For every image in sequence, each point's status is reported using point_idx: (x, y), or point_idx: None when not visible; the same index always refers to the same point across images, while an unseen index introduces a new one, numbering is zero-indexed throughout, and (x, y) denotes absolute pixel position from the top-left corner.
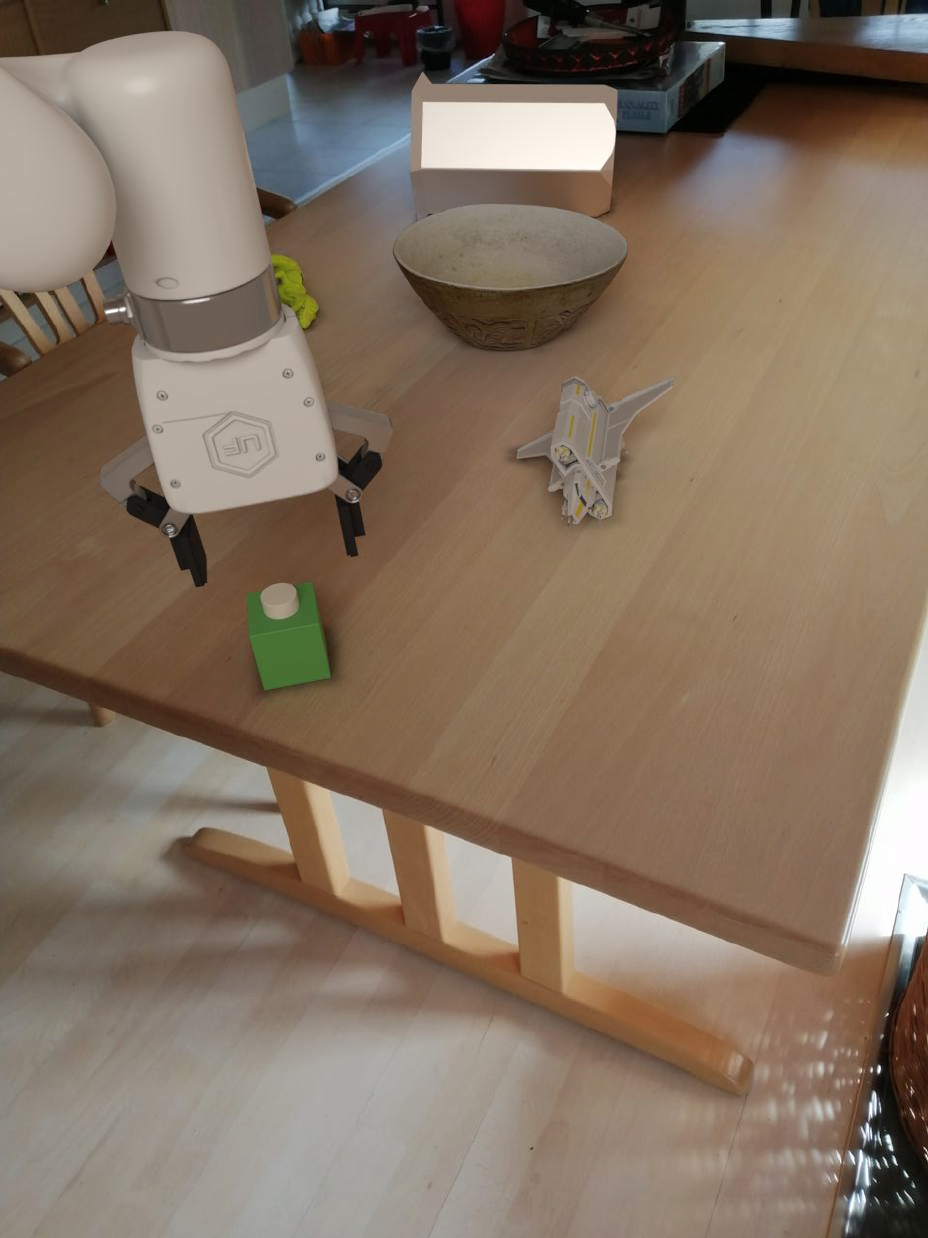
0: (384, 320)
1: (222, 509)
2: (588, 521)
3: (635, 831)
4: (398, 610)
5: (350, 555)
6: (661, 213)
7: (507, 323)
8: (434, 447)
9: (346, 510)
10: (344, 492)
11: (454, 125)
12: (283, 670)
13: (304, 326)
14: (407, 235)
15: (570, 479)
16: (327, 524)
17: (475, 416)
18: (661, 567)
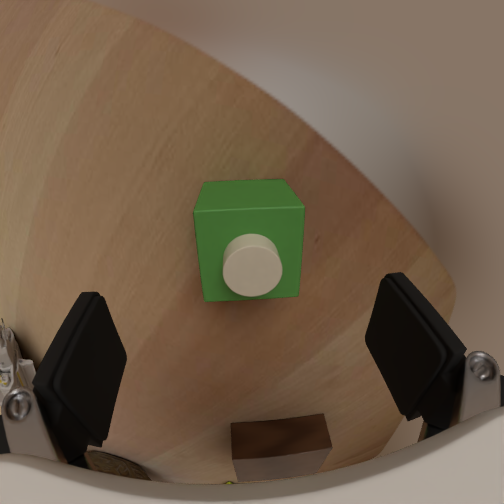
0: (185, 479)
1: (434, 450)
2: (15, 329)
3: (3, 6)
4: (132, 273)
5: (93, 292)
6: None
7: (100, 470)
8: (135, 420)
9: (39, 376)
10: (25, 418)
11: None
12: (258, 186)
13: (229, 482)
14: None
15: (2, 358)
16: (209, 383)
17: (115, 430)
18: None
